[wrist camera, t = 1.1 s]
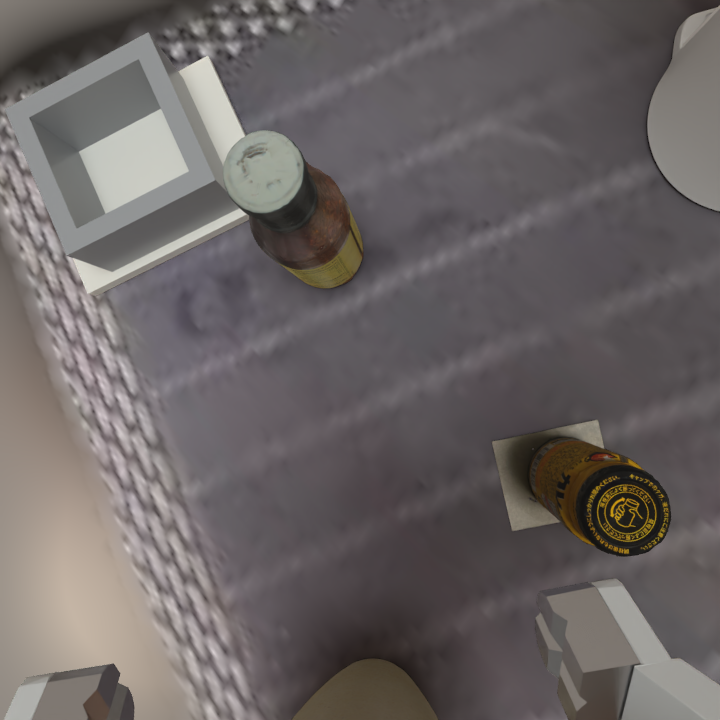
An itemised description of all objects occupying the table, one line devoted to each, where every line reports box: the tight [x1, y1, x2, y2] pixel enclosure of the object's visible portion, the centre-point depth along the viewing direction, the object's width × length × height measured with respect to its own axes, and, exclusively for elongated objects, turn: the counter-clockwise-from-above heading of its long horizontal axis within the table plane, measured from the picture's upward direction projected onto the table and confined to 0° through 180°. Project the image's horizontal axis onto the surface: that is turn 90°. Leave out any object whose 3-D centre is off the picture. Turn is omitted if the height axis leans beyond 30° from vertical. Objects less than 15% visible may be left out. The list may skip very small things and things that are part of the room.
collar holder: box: [5, 32, 249, 296], centre depth 43 cm, size 18×14×7 cm
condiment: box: [492, 420, 671, 556], centre depth 36 cm, size 7×8×12 cm
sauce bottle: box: [223, 130, 363, 288], centre depth 35 cm, size 7×6×20 cm
